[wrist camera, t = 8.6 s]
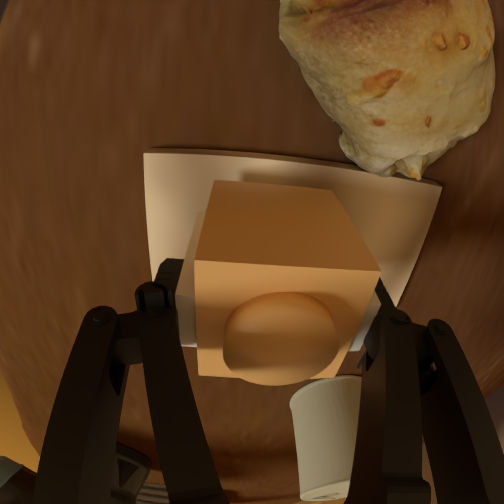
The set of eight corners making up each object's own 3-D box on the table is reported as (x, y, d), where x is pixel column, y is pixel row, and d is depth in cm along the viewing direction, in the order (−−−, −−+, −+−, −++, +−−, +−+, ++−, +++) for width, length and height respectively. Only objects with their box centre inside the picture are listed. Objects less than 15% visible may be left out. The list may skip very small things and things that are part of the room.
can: (272, 401, 31) (279, 503, 21) (343, 363, 27) (370, 477, 17) (320, 421, 35) (333, 505, 24) (382, 390, 31) (408, 479, 21)
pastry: (314, -79, 9) (355, -146, 2) (482, 20, 11) (568, 25, 4) (234, 118, 16) (227, 154, 9) (415, 189, 18) (485, 255, 12)
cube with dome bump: (210, 276, 18) (196, 394, 12) (214, 179, 15) (189, 280, 8) (310, 282, 19) (338, 395, 12) (331, 190, 15) (392, 291, 9)
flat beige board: (159, 296, 22) (140, 361, 17) (149, 147, 16) (108, 186, 11) (386, 306, 24) (413, 364, 18) (433, 180, 18) (488, 224, 12)
